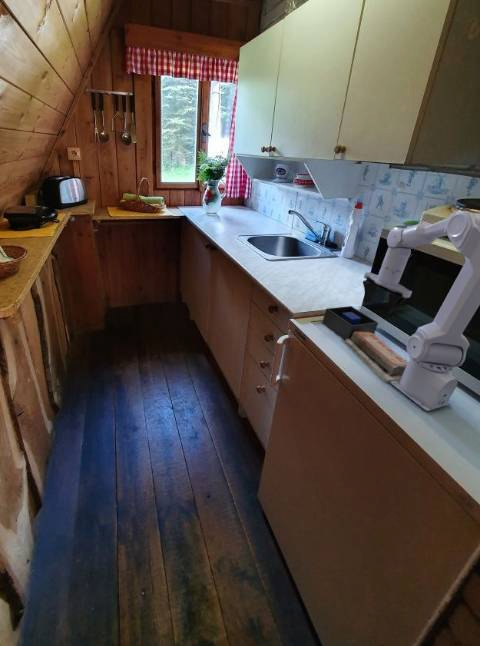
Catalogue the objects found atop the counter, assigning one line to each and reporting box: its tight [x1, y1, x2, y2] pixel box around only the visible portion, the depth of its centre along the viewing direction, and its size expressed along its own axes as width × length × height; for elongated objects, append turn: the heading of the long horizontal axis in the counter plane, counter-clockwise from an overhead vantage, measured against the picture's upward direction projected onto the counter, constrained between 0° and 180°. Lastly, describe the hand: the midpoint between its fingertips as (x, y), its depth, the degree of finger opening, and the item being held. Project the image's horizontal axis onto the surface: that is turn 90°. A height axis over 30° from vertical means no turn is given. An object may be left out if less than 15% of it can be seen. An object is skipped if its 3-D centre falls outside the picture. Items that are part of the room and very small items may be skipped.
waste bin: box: [322, 305, 379, 341], centre depth 100 cm, size 11×11×6 cm
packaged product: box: [344, 332, 408, 384], centre depth 86 cm, size 18×5×10 cm
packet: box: [341, 312, 361, 325], centre depth 100 cm, size 4×4×5 cm
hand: (377, 307), depth 97 cm, fingers open, 7 cm apart
